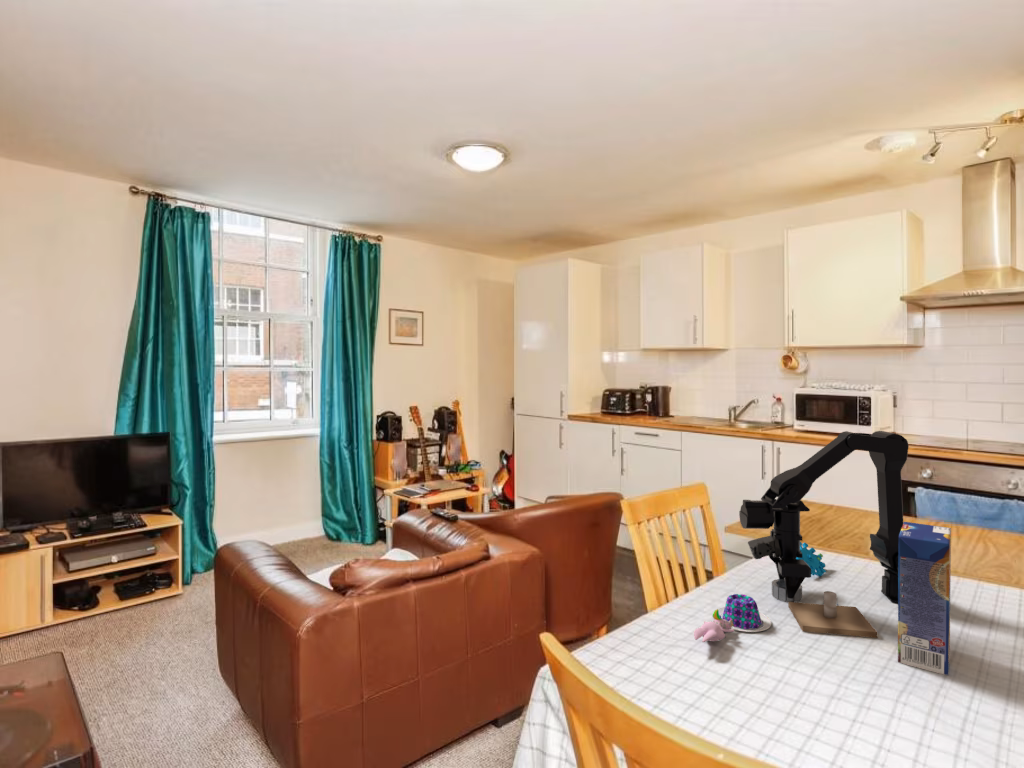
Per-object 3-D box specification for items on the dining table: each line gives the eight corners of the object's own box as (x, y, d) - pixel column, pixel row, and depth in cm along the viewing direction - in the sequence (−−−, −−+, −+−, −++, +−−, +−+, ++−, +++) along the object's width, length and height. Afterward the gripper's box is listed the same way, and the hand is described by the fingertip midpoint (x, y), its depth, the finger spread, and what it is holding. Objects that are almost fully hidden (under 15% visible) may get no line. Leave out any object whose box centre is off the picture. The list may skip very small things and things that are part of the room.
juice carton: (948, 676, 99) (949, 544, 99) (897, 662, 104) (898, 536, 103) (949, 648, 109) (951, 527, 108) (903, 637, 113) (904, 521, 113)
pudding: (775, 617, 124) (775, 594, 124) (766, 640, 114) (766, 615, 114) (720, 605, 130) (719, 583, 130) (706, 626, 121) (706, 602, 120)
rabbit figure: (711, 628, 121) (683, 644, 110) (712, 600, 122) (685, 613, 111) (740, 636, 117) (714, 654, 106) (742, 608, 118) (716, 622, 106)
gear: (811, 575, 143) (788, 540, 149) (795, 586, 146) (773, 551, 153) (837, 572, 148) (814, 539, 154) (820, 583, 151) (798, 549, 158)
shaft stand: (855, 612, 125) (856, 585, 125) (877, 637, 113) (877, 608, 113) (788, 606, 128) (788, 580, 128) (802, 631, 117) (802, 602, 116)
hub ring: (797, 592, 136) (797, 580, 136) (804, 603, 130) (804, 590, 130) (769, 590, 138) (769, 578, 138) (775, 600, 132) (775, 588, 131)
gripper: (744, 516, 144) (744, 575, 145) (758, 538, 126) (758, 606, 127) (790, 518, 142) (790, 578, 142) (812, 541, 123) (812, 610, 124)
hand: (786, 592), depth 134 cm, fingers closed on hub ring, 6 cm apart
